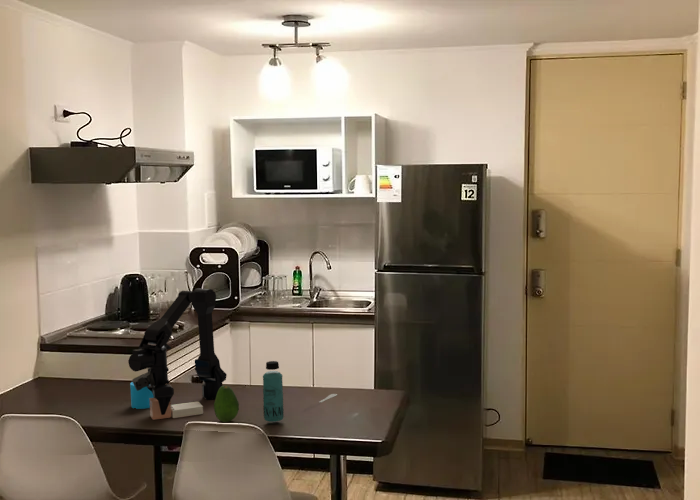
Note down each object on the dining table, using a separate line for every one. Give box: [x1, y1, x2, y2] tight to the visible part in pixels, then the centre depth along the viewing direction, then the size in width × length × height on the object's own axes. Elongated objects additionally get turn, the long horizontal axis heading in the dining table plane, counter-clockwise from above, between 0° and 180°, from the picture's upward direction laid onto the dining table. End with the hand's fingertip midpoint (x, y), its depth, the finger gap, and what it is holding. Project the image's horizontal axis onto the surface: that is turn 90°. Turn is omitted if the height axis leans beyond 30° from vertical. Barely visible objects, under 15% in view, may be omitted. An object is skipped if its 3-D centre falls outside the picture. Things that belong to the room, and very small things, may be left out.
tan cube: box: [149, 398, 172, 420], centre depth 265 cm, size 6×5×6 cm
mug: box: [129, 381, 154, 410], centre depth 281 cm, size 12×8×8 cm
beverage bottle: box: [262, 360, 285, 423], centre depth 254 cm, size 6×7×20 cm
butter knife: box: [318, 393, 338, 403], centre depth 277 cm, size 1×24×3 cm
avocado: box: [213, 384, 240, 423], centre depth 258 cm, size 8×8×12 cm
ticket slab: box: [171, 401, 204, 419], centre depth 269 cm, size 10×7×3 cm
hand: (160, 411), depth 266 cm, fingers open, 9 cm apart
